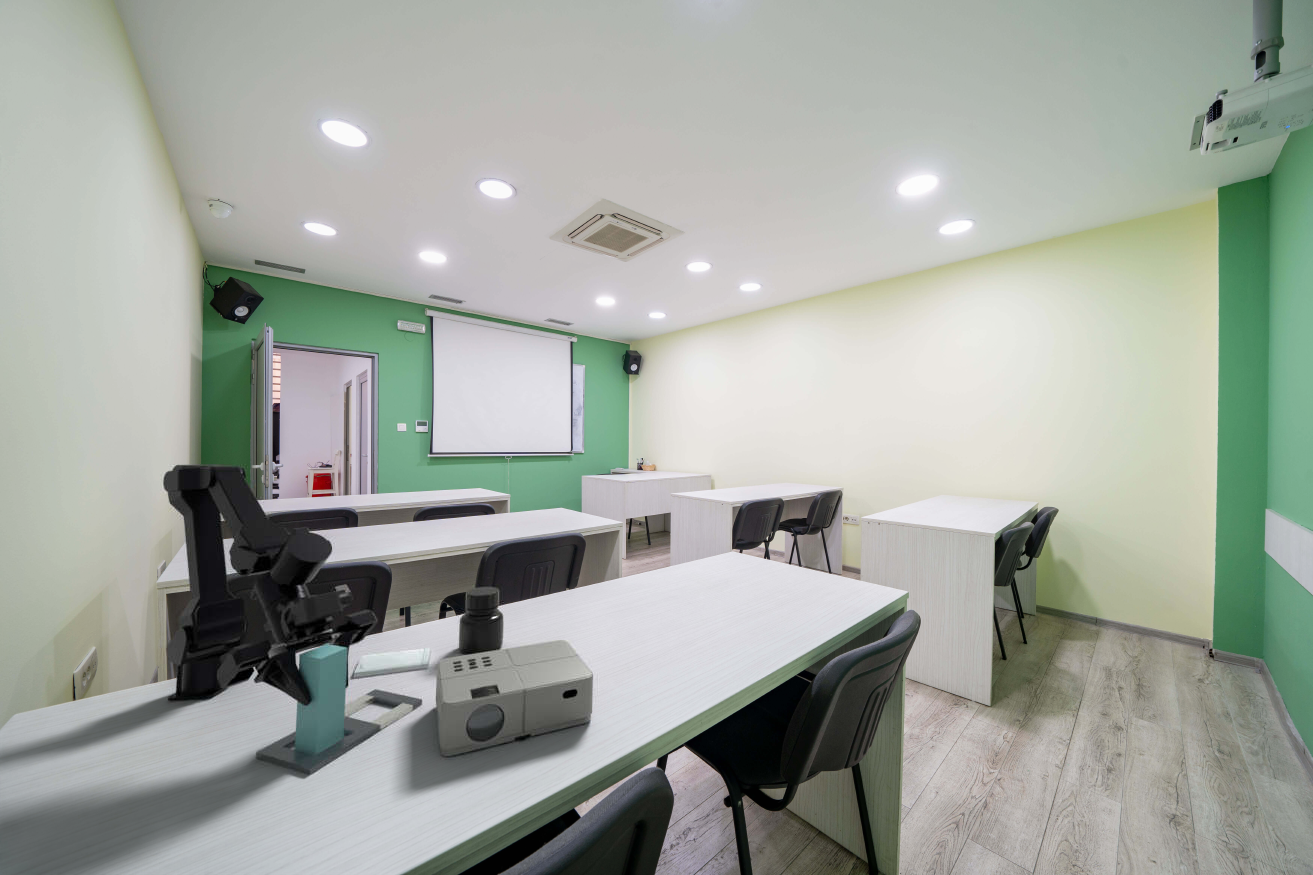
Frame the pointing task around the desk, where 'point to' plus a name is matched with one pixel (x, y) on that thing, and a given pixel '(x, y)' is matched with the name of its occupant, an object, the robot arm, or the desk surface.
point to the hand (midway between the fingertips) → (327, 695)
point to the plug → (322, 699)
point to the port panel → (352, 727)
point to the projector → (510, 695)
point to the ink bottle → (481, 622)
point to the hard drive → (393, 662)
